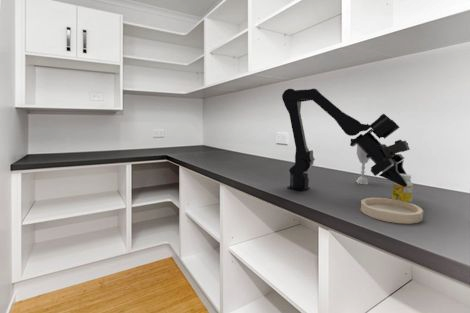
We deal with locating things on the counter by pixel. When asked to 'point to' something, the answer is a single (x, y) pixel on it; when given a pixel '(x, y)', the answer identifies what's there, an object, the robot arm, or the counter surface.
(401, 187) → the supplement bottle
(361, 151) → the chalice
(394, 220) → the round tray
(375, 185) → the counter surface
